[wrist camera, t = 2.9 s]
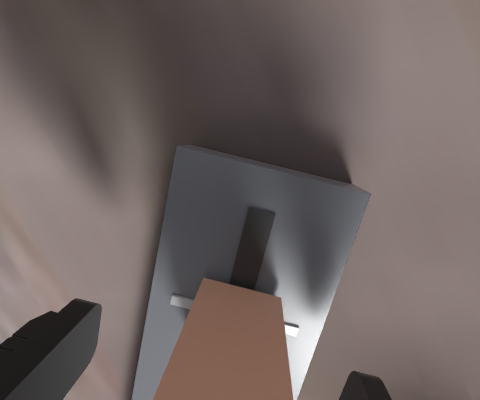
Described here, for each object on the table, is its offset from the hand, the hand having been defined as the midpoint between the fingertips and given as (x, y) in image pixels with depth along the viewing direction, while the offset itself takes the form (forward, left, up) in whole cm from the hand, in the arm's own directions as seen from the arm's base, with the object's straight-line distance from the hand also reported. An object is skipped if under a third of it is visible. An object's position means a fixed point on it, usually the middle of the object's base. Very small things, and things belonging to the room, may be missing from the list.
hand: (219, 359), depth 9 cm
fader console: (0, +4, -5) cm, 6 cm away
